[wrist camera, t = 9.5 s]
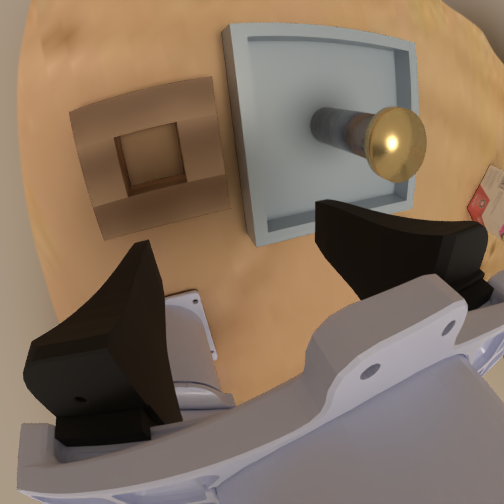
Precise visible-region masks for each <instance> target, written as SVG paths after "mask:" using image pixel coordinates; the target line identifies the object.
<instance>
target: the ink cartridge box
mask: <svg viewBox="0 0 504 504" xmlns="http://www.w3.org/2000/svg"><path fill="white" fill-rule="evenodd" d="M468 210H469V212H470V215H471V217H472V219H473V221H477V222H479V223H480V224H482V225H483V226H485V227H486V229H487V231H488V232H490V233H491V234H493V235H495V236H496V237H498V238H499V239H501V240H502V241H504V170H502V169H500V168H497V167H495V166H493V165H490V166H489V168H488V170H487V172H486V174H485V176H484V178H483V180H482V182H481V184H480V186H479V187H478V189H477V191H476V193H475V195H474V197H473V198H472V200H471V202H470V204H469V205H468Z"/></svg>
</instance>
